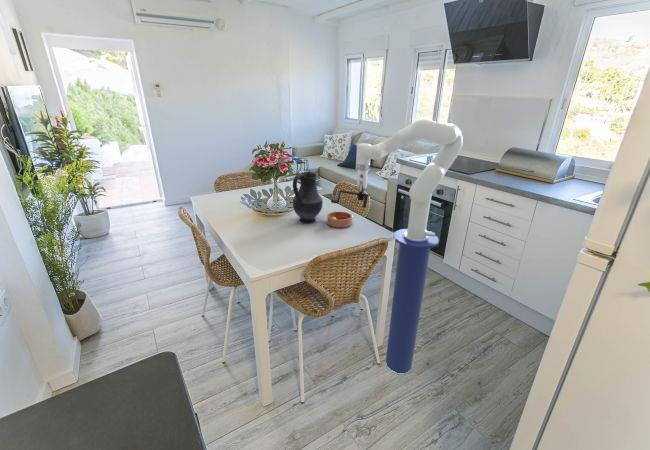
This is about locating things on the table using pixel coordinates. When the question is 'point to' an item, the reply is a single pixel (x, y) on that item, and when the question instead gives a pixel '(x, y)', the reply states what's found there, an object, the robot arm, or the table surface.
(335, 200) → the black lever handle
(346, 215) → the bowl
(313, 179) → the pitcher
